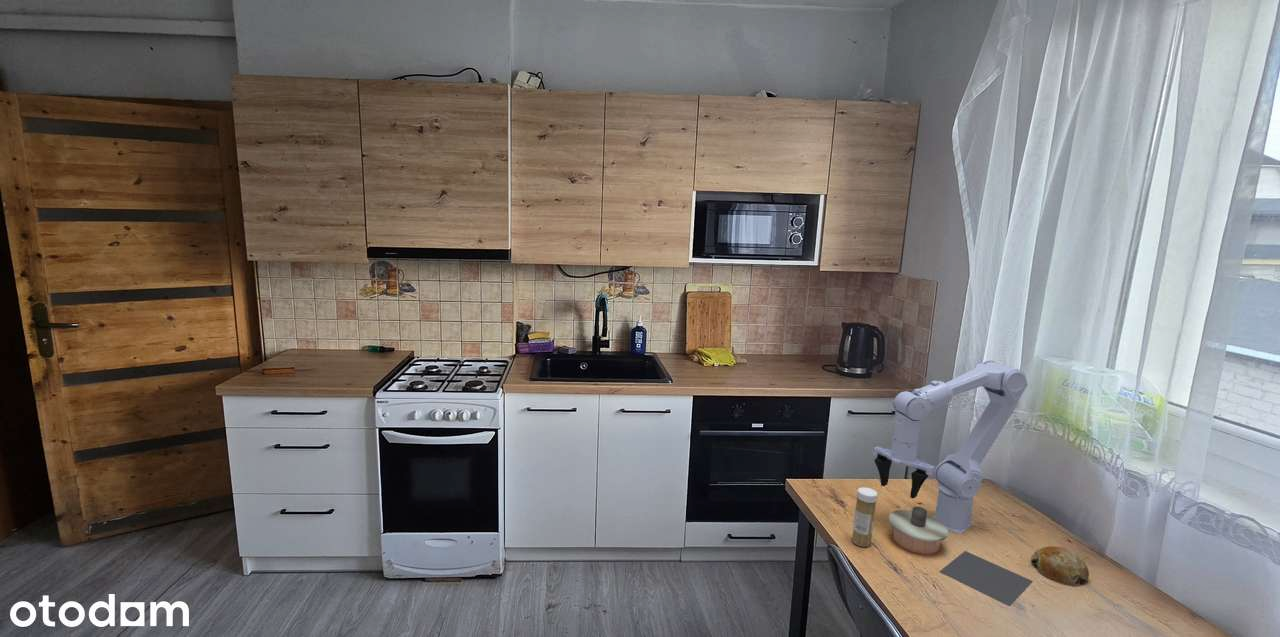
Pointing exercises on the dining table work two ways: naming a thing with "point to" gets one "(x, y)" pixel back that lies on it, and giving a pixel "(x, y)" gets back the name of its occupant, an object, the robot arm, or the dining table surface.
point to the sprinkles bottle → (864, 517)
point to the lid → (918, 524)
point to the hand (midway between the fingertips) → (898, 490)
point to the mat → (987, 577)
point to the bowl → (916, 543)
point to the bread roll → (1061, 565)
